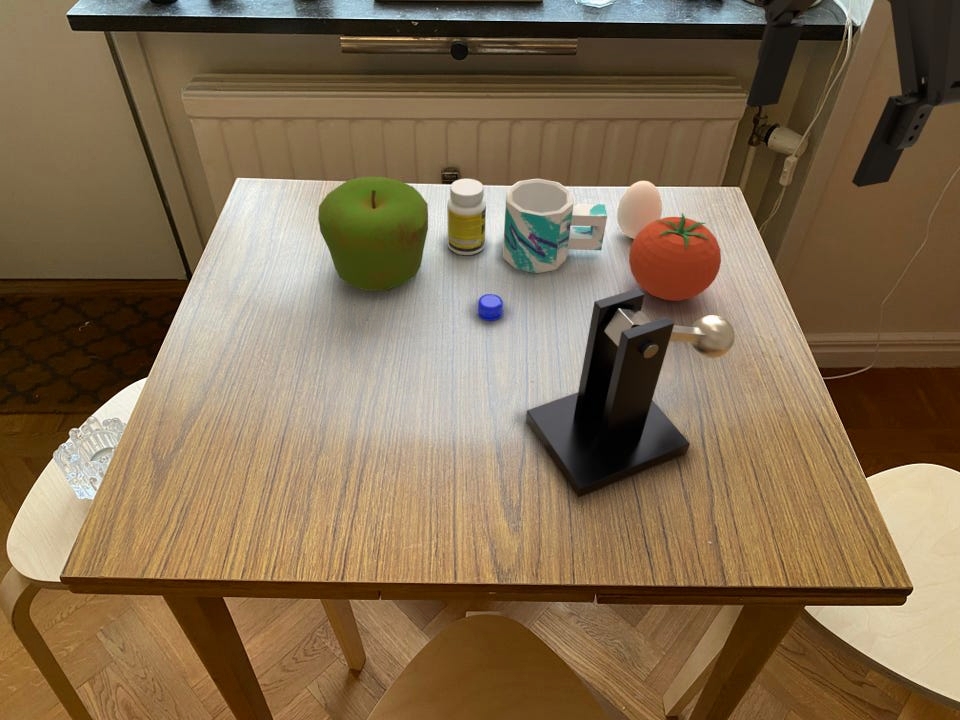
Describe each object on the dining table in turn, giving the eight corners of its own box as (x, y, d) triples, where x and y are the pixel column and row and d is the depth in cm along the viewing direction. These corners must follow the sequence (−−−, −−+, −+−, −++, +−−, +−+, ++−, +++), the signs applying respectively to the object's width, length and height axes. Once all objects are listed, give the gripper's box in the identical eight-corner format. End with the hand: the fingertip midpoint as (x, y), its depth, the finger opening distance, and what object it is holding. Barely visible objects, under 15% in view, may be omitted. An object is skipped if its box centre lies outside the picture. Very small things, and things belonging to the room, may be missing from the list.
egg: (610, 223, 94) (620, 170, 89) (651, 224, 94) (663, 171, 89) (616, 248, 90) (626, 193, 85) (658, 249, 91) (672, 194, 85)
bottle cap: (489, 300, 82) (489, 288, 81) (508, 312, 81) (509, 300, 80) (471, 312, 81) (471, 300, 80) (491, 324, 79) (491, 313, 78)
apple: (314, 257, 87) (300, 176, 79) (405, 233, 92) (401, 153, 84) (349, 318, 80) (337, 234, 72) (447, 288, 84) (446, 206, 76)
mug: (502, 233, 92) (506, 176, 86) (594, 236, 92) (604, 179, 86) (503, 272, 86) (507, 213, 80) (601, 275, 86) (612, 216, 80)
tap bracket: (627, 383, 73) (657, 260, 62) (686, 453, 67) (732, 329, 56) (525, 420, 69) (538, 295, 58) (578, 498, 63) (604, 374, 52)
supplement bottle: (488, 254, 89) (490, 195, 83) (451, 258, 88) (451, 199, 82) (480, 232, 92) (482, 174, 86) (444, 236, 91) (443, 178, 86)
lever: (699, 341, 68) (722, 308, 66) (726, 368, 66) (751, 334, 64) (593, 332, 60) (616, 293, 58) (619, 362, 57) (645, 323, 55)
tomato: (623, 314, 81) (639, 242, 74) (621, 261, 89) (636, 191, 82) (714, 322, 81) (738, 250, 74) (704, 268, 88) (726, 198, 81)
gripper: (761, -218, 50) (690, 82, 64) (1077, -152, 33) (882, 232, 48) (848, -219, 51) (760, 73, 66) (1190, -157, 35) (969, 214, 50)
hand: (811, 140), depth 57 cm, fingers open, 13 cm apart
